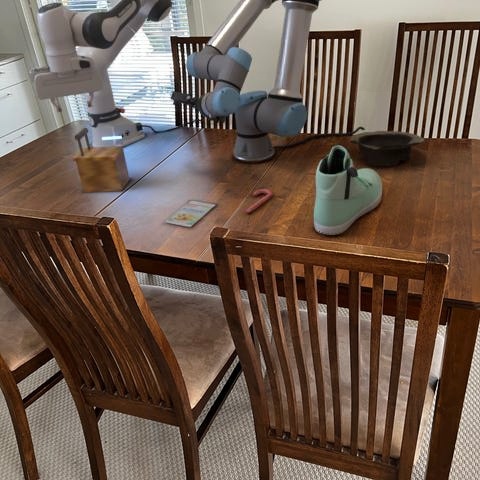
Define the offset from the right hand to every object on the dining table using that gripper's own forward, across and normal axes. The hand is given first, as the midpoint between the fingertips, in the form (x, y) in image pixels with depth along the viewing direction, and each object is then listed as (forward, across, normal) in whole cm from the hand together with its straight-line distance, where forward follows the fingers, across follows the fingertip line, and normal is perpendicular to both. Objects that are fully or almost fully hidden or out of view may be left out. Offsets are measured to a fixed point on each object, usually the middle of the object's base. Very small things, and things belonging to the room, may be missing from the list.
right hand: (192, 109), depth 169 cm
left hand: (-3, -36, -16) cm, 40 cm away
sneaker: (-52, +40, -16) cm, 68 cm away
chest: (+3, -18, -36) cm, 40 cm away
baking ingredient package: (-31, +3, -34) cm, 46 cm away
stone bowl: (-28, +63, +8) cm, 70 cm away
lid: (0, -24, -27) cm, 36 cm away
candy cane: (-35, +20, -24) cm, 47 cm away
